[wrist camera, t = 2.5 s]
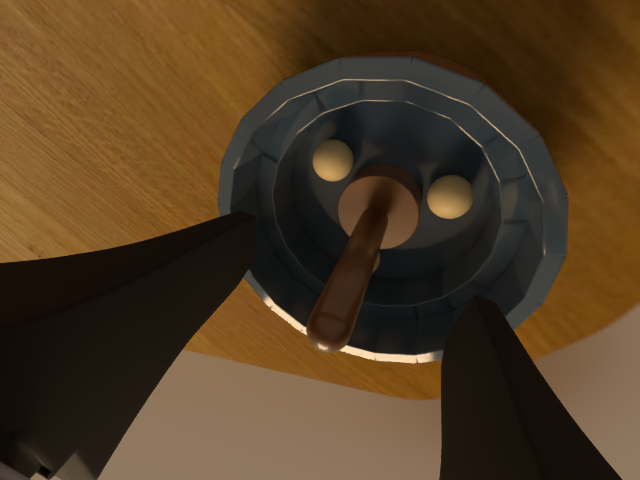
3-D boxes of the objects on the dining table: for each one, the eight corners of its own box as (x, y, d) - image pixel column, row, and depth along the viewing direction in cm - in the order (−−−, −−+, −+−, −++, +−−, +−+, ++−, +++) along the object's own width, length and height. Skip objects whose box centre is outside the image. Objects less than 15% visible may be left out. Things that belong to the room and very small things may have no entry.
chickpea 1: (361, 169, 14) (352, 183, 13) (327, 176, 15) (314, 190, 14) (351, 130, 14) (340, 140, 12) (315, 140, 15) (300, 151, 13)
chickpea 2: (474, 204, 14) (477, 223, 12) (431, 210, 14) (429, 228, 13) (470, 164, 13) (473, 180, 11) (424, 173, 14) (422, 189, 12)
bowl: (534, 287, 15) (564, 373, 11) (314, 294, 21) (282, 355, 17) (526, -8, 10) (576, -38, 6) (237, 104, 16) (164, 126, 12)
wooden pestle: (428, 228, 15) (408, 401, 8) (357, 236, 16) (286, 386, 9) (414, 155, 13) (373, 287, 6) (337, 172, 15) (235, 292, 8)
